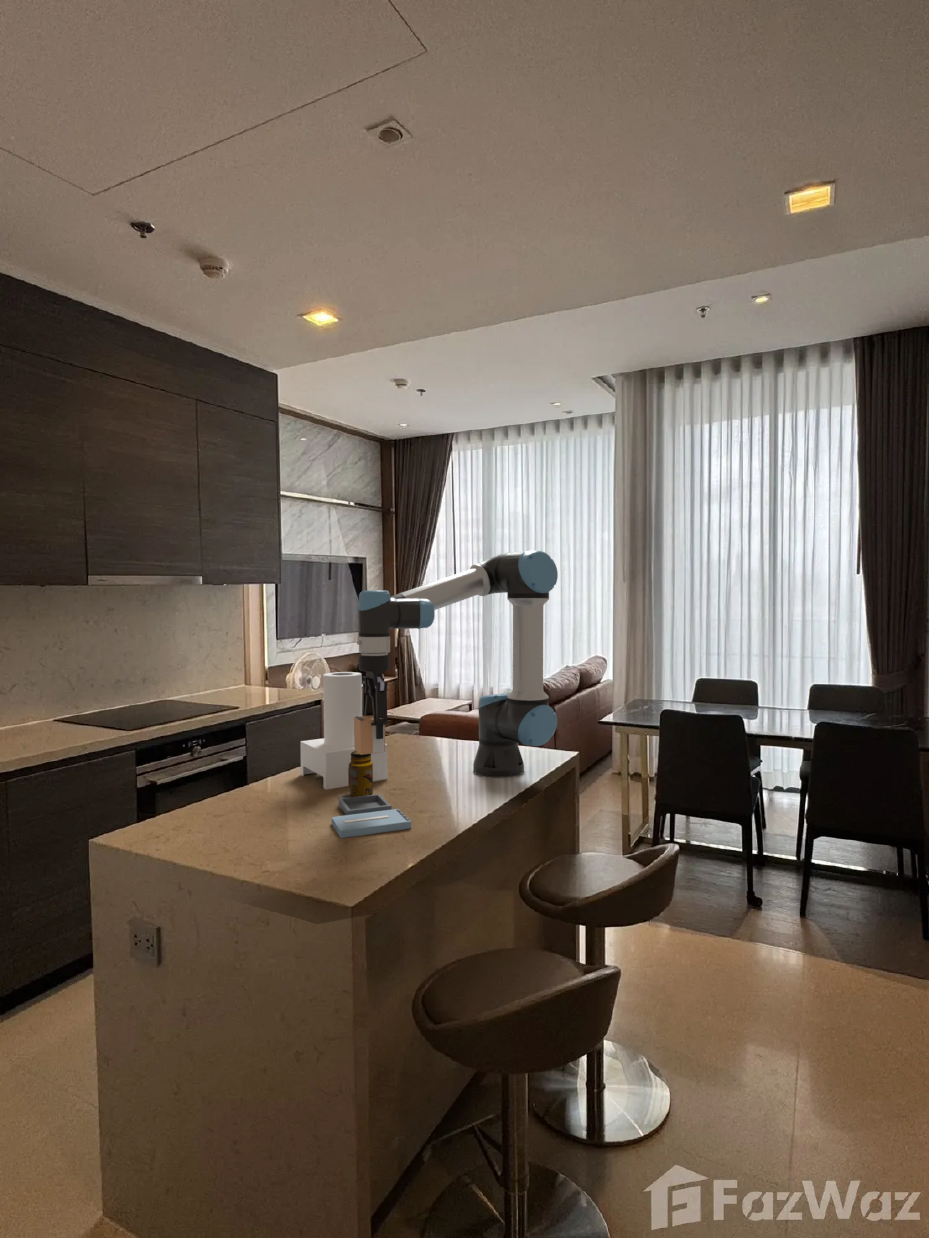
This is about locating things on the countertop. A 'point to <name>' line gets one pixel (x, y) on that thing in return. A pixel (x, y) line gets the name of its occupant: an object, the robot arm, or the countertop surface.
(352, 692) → the paper towel holder
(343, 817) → the board
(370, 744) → the stub
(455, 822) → the countertop surface
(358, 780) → the condiment
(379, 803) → the tray
